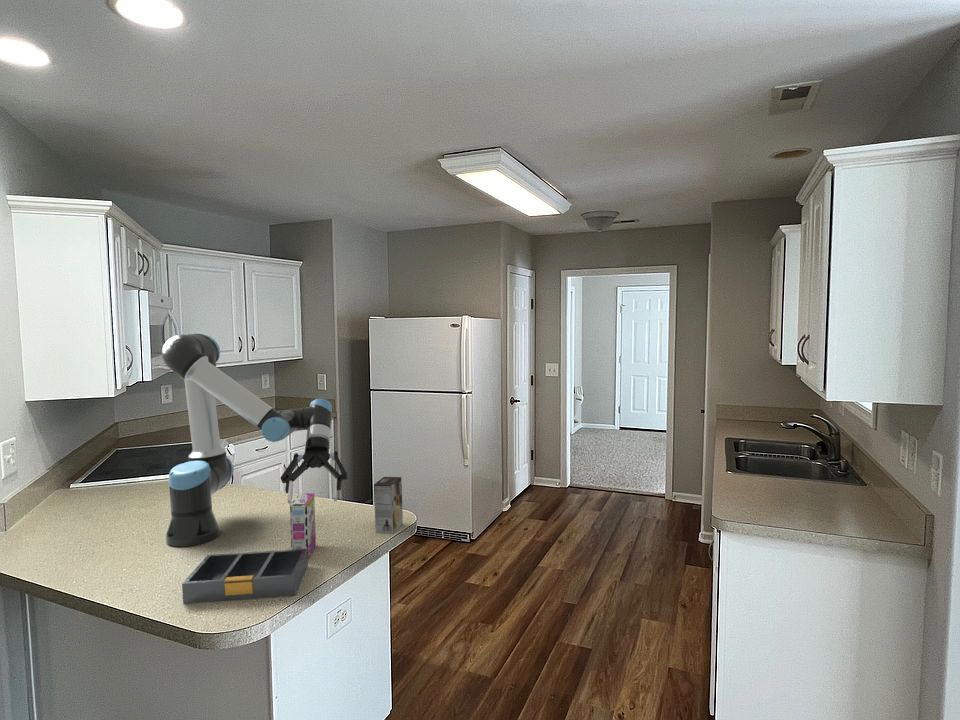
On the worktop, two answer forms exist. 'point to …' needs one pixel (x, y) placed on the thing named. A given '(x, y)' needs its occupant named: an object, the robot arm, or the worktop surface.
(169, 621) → the worktop surface
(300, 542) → the candy bar box
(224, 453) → the robot arm
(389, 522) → the coffee box
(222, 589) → the bay rack
